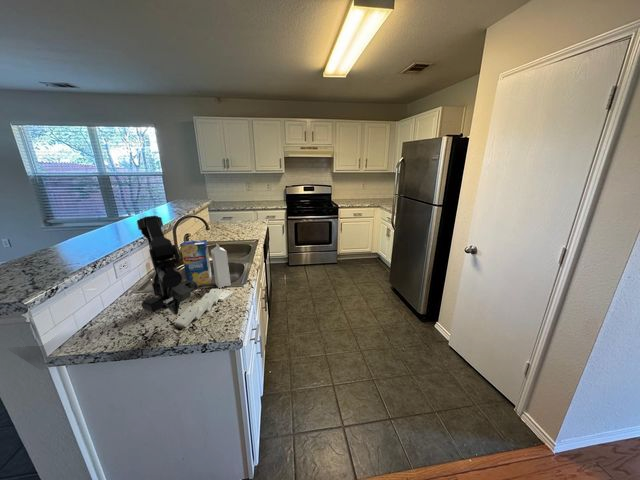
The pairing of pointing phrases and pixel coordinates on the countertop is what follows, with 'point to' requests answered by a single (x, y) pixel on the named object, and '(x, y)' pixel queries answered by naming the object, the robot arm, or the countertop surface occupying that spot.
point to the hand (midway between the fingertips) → (175, 314)
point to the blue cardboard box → (196, 261)
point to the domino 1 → (187, 316)
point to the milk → (220, 266)
